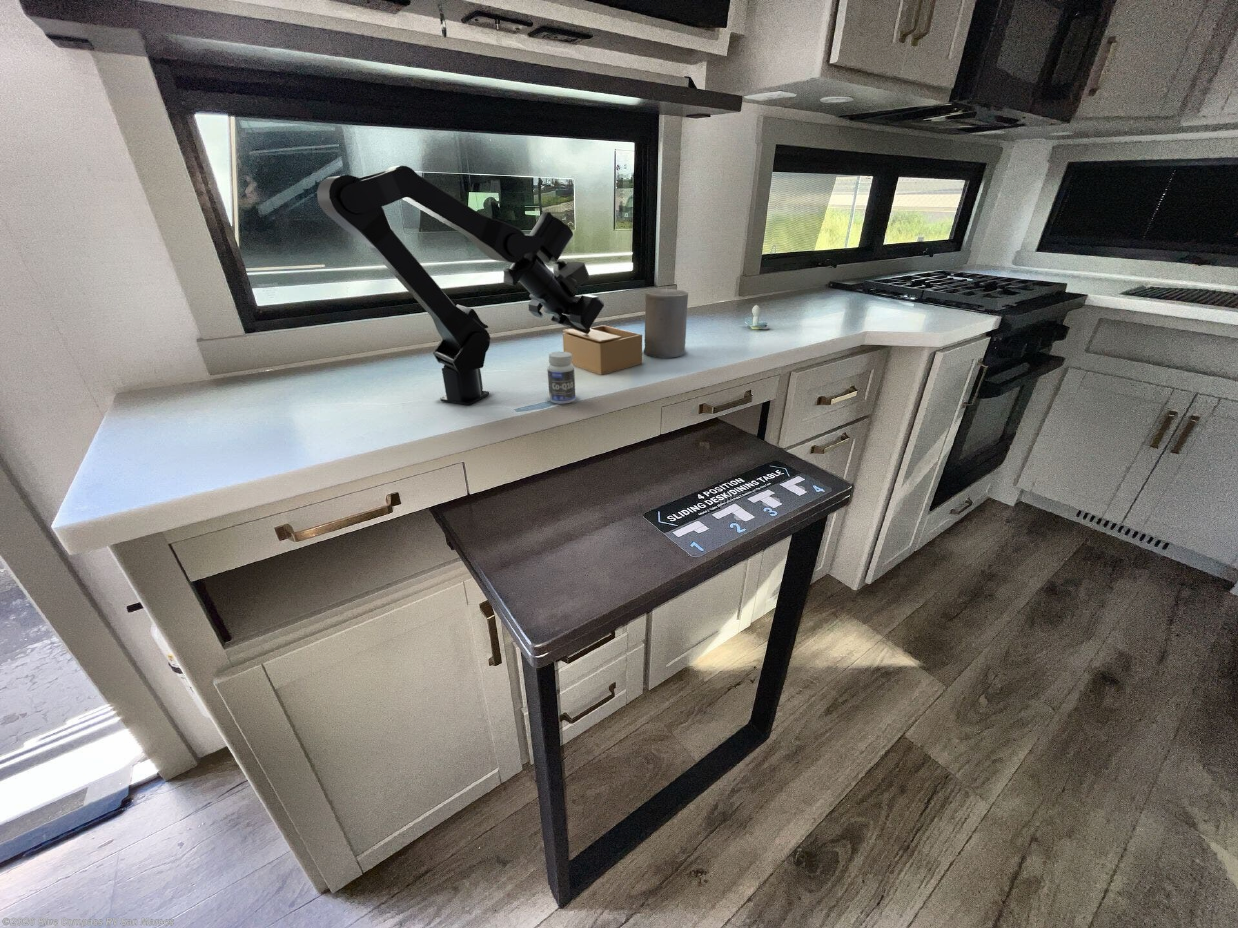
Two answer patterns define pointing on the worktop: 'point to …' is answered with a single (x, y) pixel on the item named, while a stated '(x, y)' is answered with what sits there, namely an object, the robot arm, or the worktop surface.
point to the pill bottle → (561, 378)
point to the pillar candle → (665, 322)
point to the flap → (594, 335)
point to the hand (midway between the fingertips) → (588, 332)
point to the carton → (604, 350)
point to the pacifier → (756, 320)
